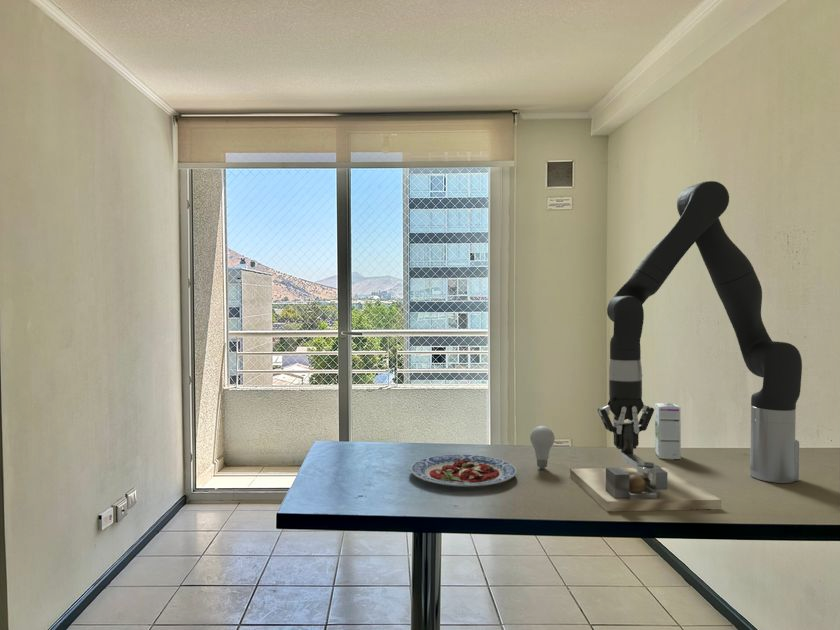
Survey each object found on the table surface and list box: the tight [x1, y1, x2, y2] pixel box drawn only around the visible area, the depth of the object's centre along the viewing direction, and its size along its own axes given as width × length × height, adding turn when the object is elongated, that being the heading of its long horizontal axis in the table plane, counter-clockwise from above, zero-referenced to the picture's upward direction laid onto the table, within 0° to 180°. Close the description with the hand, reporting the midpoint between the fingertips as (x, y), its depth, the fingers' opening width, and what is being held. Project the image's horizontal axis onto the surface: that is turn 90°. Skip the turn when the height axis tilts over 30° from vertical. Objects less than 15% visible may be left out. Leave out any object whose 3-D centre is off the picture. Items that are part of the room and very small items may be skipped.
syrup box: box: [654, 402, 682, 460], centre depth 156 cm, size 6×6×14 cm
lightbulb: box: [529, 425, 556, 470], centre depth 144 cm, size 6×6×11 cm
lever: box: [620, 422, 668, 490], centre depth 128 cm, size 5×21×10 cm, turn 0°
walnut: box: [629, 475, 645, 493], centre depth 119 cm, size 4×4×4 cm
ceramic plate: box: [410, 453, 517, 488], centre depth 138 cm, size 26×26×3 cm
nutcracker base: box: [569, 467, 722, 512], centre depth 127 cm, size 24×23×7 cm
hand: (626, 447), depth 138 cm, fingers closed on lever, 3 cm apart
